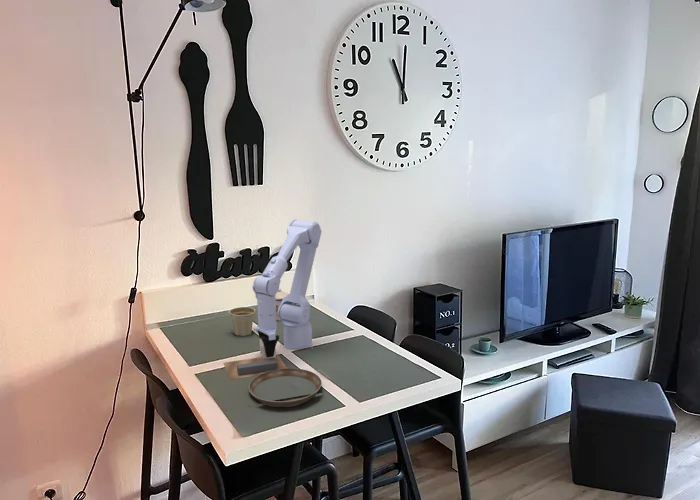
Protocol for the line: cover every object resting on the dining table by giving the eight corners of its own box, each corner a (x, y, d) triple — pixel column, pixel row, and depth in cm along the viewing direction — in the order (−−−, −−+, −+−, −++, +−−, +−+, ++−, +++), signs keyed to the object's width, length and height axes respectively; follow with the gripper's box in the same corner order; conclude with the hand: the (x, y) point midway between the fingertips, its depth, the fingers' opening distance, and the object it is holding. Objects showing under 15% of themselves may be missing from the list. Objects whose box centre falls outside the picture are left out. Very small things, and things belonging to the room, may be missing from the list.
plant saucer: (259, 418, 147) (259, 406, 146) (241, 385, 165) (241, 375, 165) (332, 403, 155) (332, 392, 154) (307, 373, 173) (307, 363, 173)
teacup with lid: (272, 322, 217) (271, 293, 214) (264, 315, 225) (263, 287, 222) (300, 317, 222) (300, 289, 220) (292, 310, 230) (291, 283, 228)
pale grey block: (272, 351, 183) (271, 337, 182) (275, 357, 178) (275, 342, 177) (260, 353, 182) (259, 338, 180) (263, 359, 177) (262, 344, 176)
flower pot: (261, 331, 207) (260, 309, 205) (244, 339, 199) (243, 317, 197) (242, 327, 212) (241, 305, 210) (224, 334, 204) (223, 312, 202)
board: (278, 357, 184) (278, 354, 184) (288, 373, 172) (288, 370, 172) (223, 365, 178) (223, 362, 178) (229, 382, 166) (229, 379, 166)
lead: (275, 366, 175) (275, 359, 174) (277, 369, 173) (277, 362, 172) (237, 372, 171) (236, 365, 170) (238, 375, 169) (238, 368, 168)
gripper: (249, 307, 182) (251, 346, 185) (258, 322, 169) (260, 363, 172) (271, 305, 185) (272, 343, 188) (281, 319, 171) (282, 360, 174)
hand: (268, 353), depth 180 cm, fingers closed on pale grey block, 5 cm apart
